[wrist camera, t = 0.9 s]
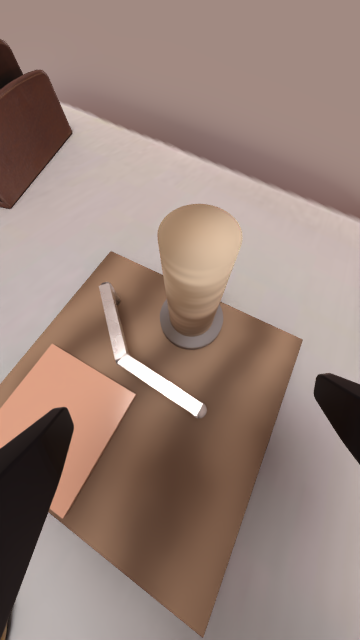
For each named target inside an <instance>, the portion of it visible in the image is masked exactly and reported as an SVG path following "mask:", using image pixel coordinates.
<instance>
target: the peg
mask: <svg viewBox="0 0 360 640" xmlns="http://www.w3.org/2000/svg"><path fill="white" fill-rule="evenodd" d="M158 244H159V251H160V258H161V264H162V271H163V277H164V284H165V291H166V297H167V299H166V300H165V302H164V303H163V305H162V308H161V311H160V323H161V327H162V330H163V333H164V335H165V336H166V338H167V339H168V340H169V341H170V342H171V343H172V344H174V345H175V346H177V347H180V348H183V349H187V350H196V349H201V348H203V347H206V346H207V345H209V344H210V343H212V342H213V341H214V340H215V338H216V337H217V335H218V334H219V332H220V330H221V327H222V324H223V312H222V309H221V306H220V301H221V298H222V295H223V293H224V290H225V287H226V285H227V282H228V279H229V277H230V274H231V271H232V269H233V266H234V263H235V261H236V258H237V255H238V252H239V250H240V247H241V244H242V231H241V228H240V226H239V224H238V222H237V221H236V220H235V218H234V217H233V216H232V215H230V214H229V213H228V212H226V211H224V210H223V209H220V208H218V207H215V206H212V205H206V204H191V205H186V206H183V207H180V208H177V209H176V210H174V211H172V212H171V213H169V214H168V215H167V216H166V217H165V218H164V219H163V221H162V222H161V224H160V226H159V229H158Z"/></svg>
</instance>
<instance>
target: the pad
mask: <svg viewBox="0 0 360 640" xmlns="http://www.w3.org/2000/svg"><path fill="white" fill-rule="evenodd" d="M136 395H137V394H135V393H133V392H132V391H130V390H129V389H127V388H125V387H124V386H122V385H120V384H119V383H117V382H115V381H114V380H112V379H110V378H109V377H107V376H105V375H104V374H102V373H100V372H99V371H97V370H96V369H94V368H92V367H91V366H89V365H87V364H86V363H84V362H82V361H81V360H79V359H77V358H76V357H74V356H72V355H71V354H69V353H67V352H66V351H64V350H63V349H61V348H59V347H58V346H56V345H54V344H51V345H50V347H49V348H48V349H47V350H46V352H45V353H44V354H43V356H42V357H41V358H40V359H39V361H38V362H37V363H36V364H35V366H34V367H33V368H32V369H31V371H30V372H29V373H28V374H27V376H26V377H25V378H24V379H23V381H22V382H21V383H20V384H19V386H18V387H17V388H16V389H15V391H14V392H13V393H12V394H11V396H10V397H9V398H8V399H7V401H6V402H5V403H4V404H3V406H2V407H1V408H0V448H2V447H3V446H4V445H6V444H7V443H8V442H10V441H11V440H12V439H14V438H15V437H16V436H17V435H19V434H20V433H21V432H23V431H24V430H25V429H27V428H28V427H29V426H31V425H32V424H33V423H35V422H36V421H37V420H38V419H40V418H41V417H42V416H44V415H45V414H46V413H48V412H49V411H50V410H52V409H53V408H58V407H66V408H68V410H69V413H70V415H71V418H72V421H73V424H74V431H73V435H72V439H71V442H70V446H69V450H68V453H67V457H66V461H65V464H64V468H63V472H62V475H61V478H60V481H59V484H58V487H57V490H56V493H55V495H54V498H53V501H52V503H51V506H50V509H51V510H52V511H53V512H55V513H56V514H57V515H58V516H59V517H61V518H62V519H63V518H64V517H65V516H66V515H67V513H68V511H69V510H70V508H71V506H72V505H73V503H74V501H75V499H76V498H77V496H78V494H79V493H80V491H81V489H82V487H83V486H84V484H85V482H86V481H87V479H88V477H89V476H90V474H91V472H92V470H93V469H94V467H95V465H96V464H97V462H98V460H99V458H100V457H101V455H102V453H103V452H104V450H105V448H106V446H107V445H108V443H109V441H110V440H111V438H112V436H113V434H114V433H115V431H116V429H117V428H118V426H119V424H120V423H121V421H122V419H123V417H124V416H125V414H126V412H127V411H128V409H129V407H130V405H131V404H132V402H133V400H134V399H135V397H136Z"/></svg>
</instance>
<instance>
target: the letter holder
mask: <svg viewBox="0 0 360 640" xmlns="http://www.w3.org/2000/svg"><path fill="white" fill-rule="evenodd" d="M71 134H72V130H71V128H70V126H69V123H68V121H67V119H66V116H65V114H64V112H63V109H62V107H61V105H60V102H59V100H58V98H57V96H56V93H55V91H54V89H53V86H52V84H51V82H50V79H49V77H48V76H47V74H46V73H45V72H44V71H43V70H35V71H31V72H28V73H26V74H24V75H23V73H22V71H21V69H20V67H19V65H18V63H17V61H16V59H15V57H14V55H13V53H12V50H11V49H10V47H9V45H8V44H7V43H6V42H5V41H3V40H1V39H0V207H3V208H8V209H11V207H12V206H13V205H14V204H15V202H16V201H17V200H18V199H19V197H20V196H21V195H22V194H23V193H24V191H25V190H26V189H27V188H28V186H29V185H30V184H31V183H32V182H33V180H34V179H35V178H36V177H37V176H38V174H39V173H40V172H41V170H42V169H43V168H44V167H45V166H46V164H47V163H48V162H49V161H50V159H51V158H52V157H53V156H54V155H55V153H56V152H57V151H58V150H59V148H60V147H61V146H62V145H63V144H64V142H65V141H66V140H67V139H68V137H69V136H70V135H71Z"/></svg>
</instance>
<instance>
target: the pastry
mask: <svg viewBox="0 0 360 640" xmlns="http://www.w3.org/2000/svg"><path fill="white" fill-rule="evenodd" d="M6 631H7V624H6V627H5V630H4V632H3V635H2V638H1V640H5V637H6Z"/></svg>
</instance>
